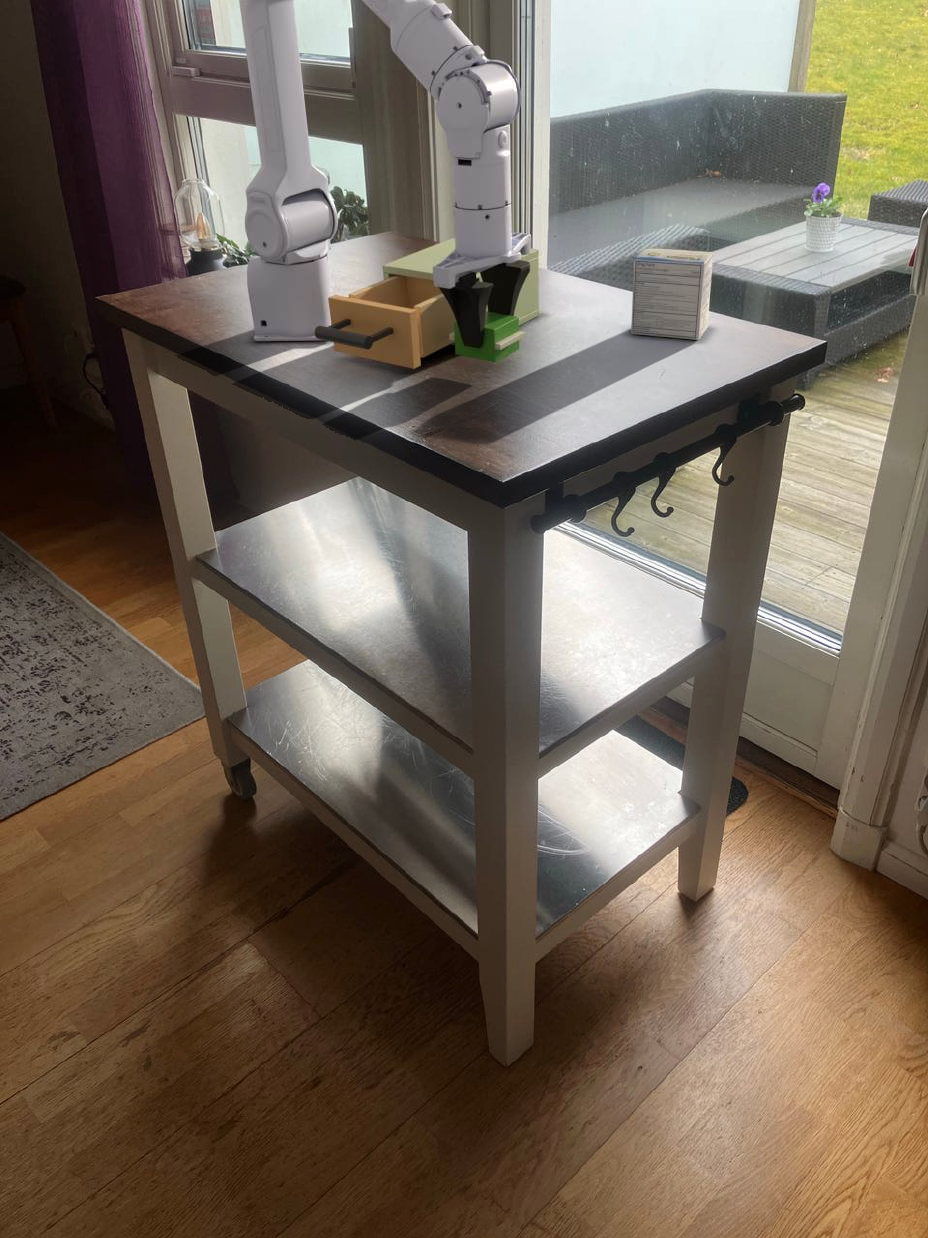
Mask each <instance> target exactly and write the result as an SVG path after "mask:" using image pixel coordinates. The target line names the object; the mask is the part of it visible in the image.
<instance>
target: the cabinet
mask: <svg viewBox="0 0 928 1238" xmlns="http://www.w3.org/2000/svg"><path fill="white" fill-rule="evenodd" d="M455 249H456V247H455V237H452V238H449V239H447V240H444V241H442V242H438V243H436V244H434V245H431V246H429V247H426V248H423V249H421V250H419V251H416V252H413V253H411V254H407V255H406V256H403V257H401V258H398V259H396V260H393V261H390V262H387V263H385V264H382V275H383V280H385V279H388V278H390V277H392V276H395V275H403V276H409V277H415V278H421V279H427V280H433V266H435V265H437V264H439V263H440V262H442V261H443V260H444V259H445V258H446V257H447V256H448V255H449V254H450V253H451V252H452V251H454V250H455ZM539 252H540V249H539V248H538V249H537V248H531V253H529V254H527V255H522V254H521V259H520V260H522V261H528V262H530V272H529V274H528V276H527V277H526V279H525V281H524V284H523V286H522V288H521V291H520V294H519V297H518V300H517V304H516V308H515V312H514V316H515V317H519V327H520V326H522V325H523V324H525V323H528V322H529V321H532V320H533V319H535V318H537V317H539V316H540V309H539V308H540V286H539V285H540V278H539V277H540V274H539V273H540V266H539V265H540V263H539V260H540V259H539V258H540V257H539V256H540V253H539ZM477 278H479V281H480V282H483V281H482V278H481V275H480V272H479V273H477V274H476V279H477ZM486 311H487V312H488V307H487V308H486ZM449 345H451V346H455V342H453V343H451V344H449Z"/></svg>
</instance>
